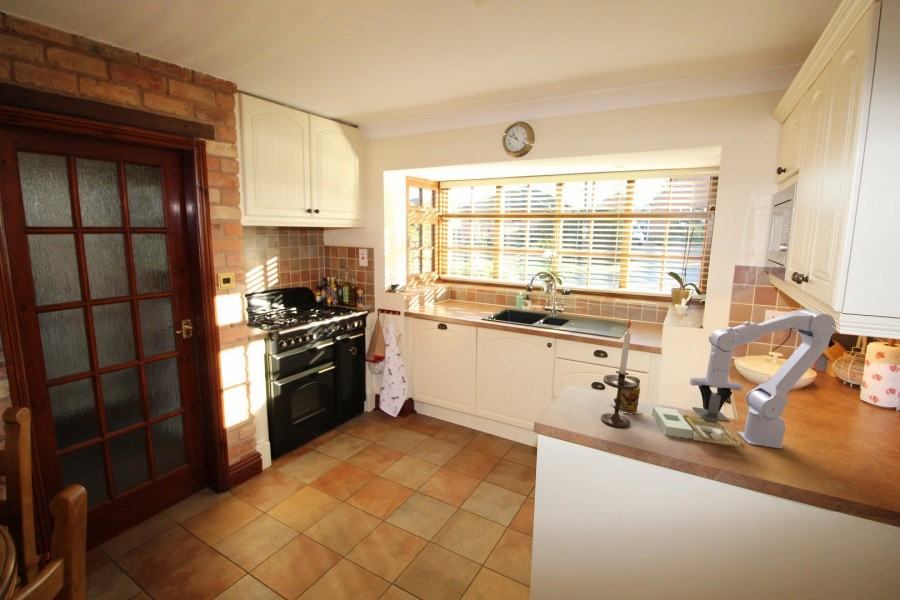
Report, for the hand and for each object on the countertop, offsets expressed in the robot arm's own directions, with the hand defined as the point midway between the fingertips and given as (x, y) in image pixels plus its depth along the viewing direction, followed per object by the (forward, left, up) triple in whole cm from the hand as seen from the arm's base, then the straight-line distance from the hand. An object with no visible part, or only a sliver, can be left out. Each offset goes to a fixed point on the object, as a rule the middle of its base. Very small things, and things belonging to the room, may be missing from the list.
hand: (711, 409), depth 137 cm
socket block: (0, 0, -9) cm, 9 cm away
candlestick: (+28, 0, -9) cm, 29 cm away
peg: (0, 0, -4) cm, 4 cm away
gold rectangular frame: (0, +3, -7) cm, 8 cm away
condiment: (+22, -13, -9) cm, 27 cm away
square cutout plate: (+10, -3, -9) cm, 14 cm away
